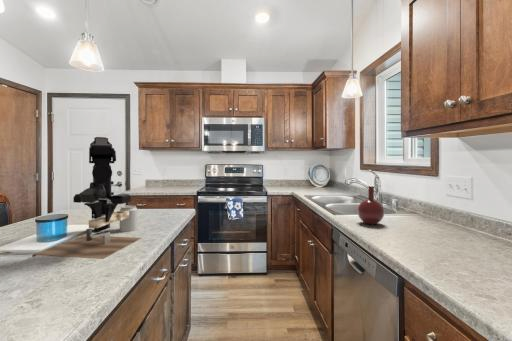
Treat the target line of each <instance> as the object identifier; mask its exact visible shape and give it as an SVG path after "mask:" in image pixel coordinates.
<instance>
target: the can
mask: <svg viewBox="0 0 512 341" xmlns="http://www.w3.org/2000/svg"><path fill="white" fill-rule="evenodd" d="M138 210H139V209H138V208H137V206H136V205H134V204H133V205H131V204H130V205H129V204H128V205H122V206H121V207H120V209H119V210H118V211H129V218H126V219H124V220H121V221H119V232H122V233H129V232H130V233H131V232H136V231H138V229H139V228H138V227H139V223H138V222H139V221H138V220H139V219H138V218H139V217H138V215H139V212H138Z"/></svg>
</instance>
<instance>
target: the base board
mask: <svg viewBox="0 0 512 341" xmlns="http://www.w3.org/2000/svg"><path fill="white" fill-rule="evenodd" d="M92 230H93V228H86V231H85V232H86V233H85V234H86V235H85V234H83V235H82V236H79V237H75V238H74V239H70V240H67V241H66V242H63V243H60V244H57V245H55V246H51V247H49V248H46V249H43V250H42V251H39V252H36V253H34V254H33V253H32V256H31V257H32V258H33V257H36V256H45V257H47V256H48V257H61V258H62V257H65V258H66V257H67V258H81V259H82V258H83V259H99V260H104V259H106V258H108V257H109V256H111V255H113V254H115V253H117V252H118V251H121V250H122V249H125V248H126V247H128V246H130V245H131V244H134V243H136V242H137V241H139V240H141V239H142V237H129V236H111V235H110V243H108V244H103V243H102V236H99V237H94V238H92V237H90V234H93V231H92Z"/></svg>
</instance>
